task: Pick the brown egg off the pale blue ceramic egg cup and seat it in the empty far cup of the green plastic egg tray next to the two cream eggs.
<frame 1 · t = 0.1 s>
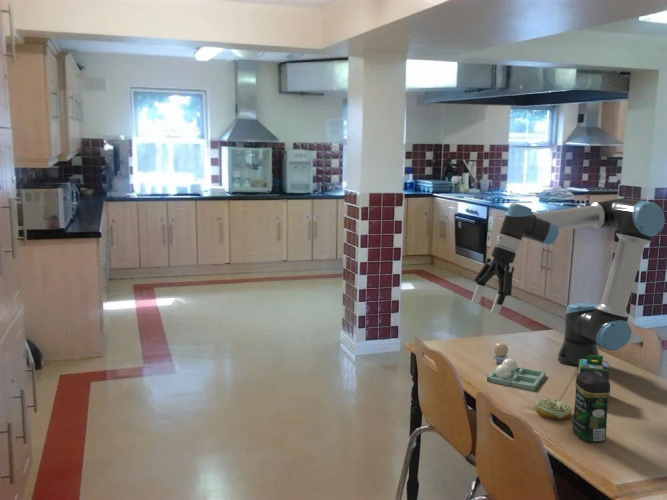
hand: (484, 308, 209), 28 cm above the table, tool tilted 20°, fingers open, 13 cm apart
chalk box: (591, 397, 206), on the table
carton: (516, 381, 219), on the table
coffee jar: (588, 436, 178), on the table
egg cup: (499, 364, 236), on the table
brown egg: (500, 356, 235), point 3 cm above the table, touching egg cup
decorated donut: (552, 415, 192), on the table
cream egg 1: (508, 373, 224), point 1 cm above the table, touching carton
cream egg 2: (502, 379, 217), point 1 cm above the table, touching carton
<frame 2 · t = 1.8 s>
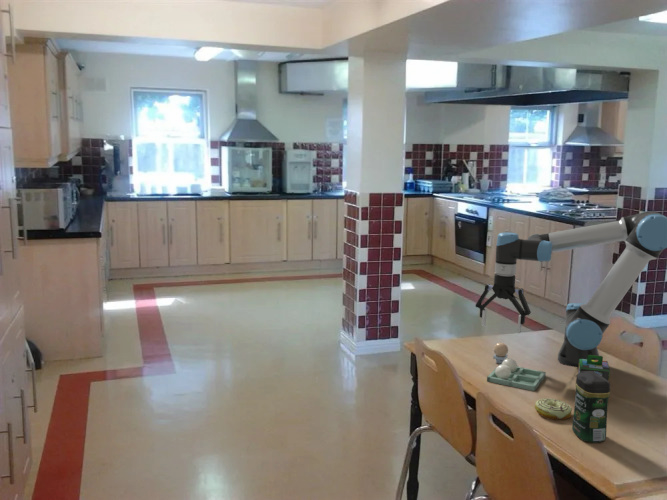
hand: (501, 329, 233), 14 cm above the table, tool pointing down, fingers open, 13 cm apart
nothing on the table moved.
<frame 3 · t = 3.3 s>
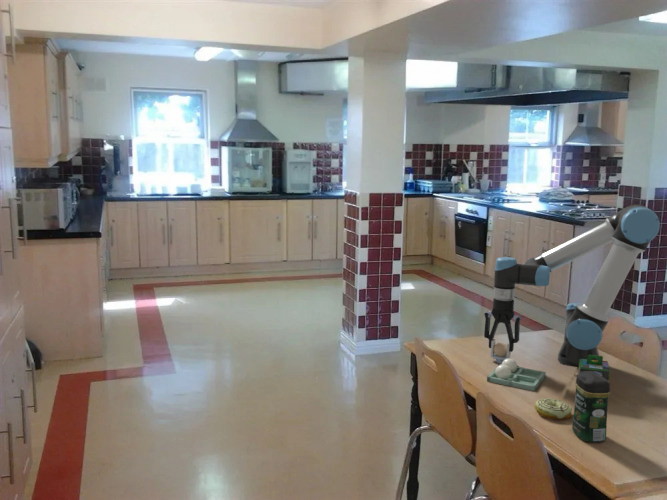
hand: (500, 357, 235), 3 cm above the table, tool pointing down, fingers closed on brown egg, 5 cm apart
brown egg: (500, 356, 235), point 3 cm above the table, touching egg cup, gripper
everything else where it was.
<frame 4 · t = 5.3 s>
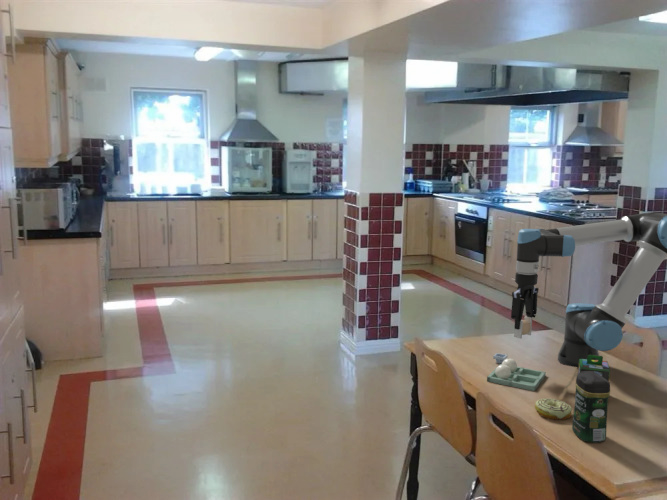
hand: (522, 335, 222), 15 cm above the table, tool pointing down, fingers closed on brown egg, 5 cm apart
brown egg: (522, 334, 222), point 15 cm above the table, touching gripper
everything else where it was.
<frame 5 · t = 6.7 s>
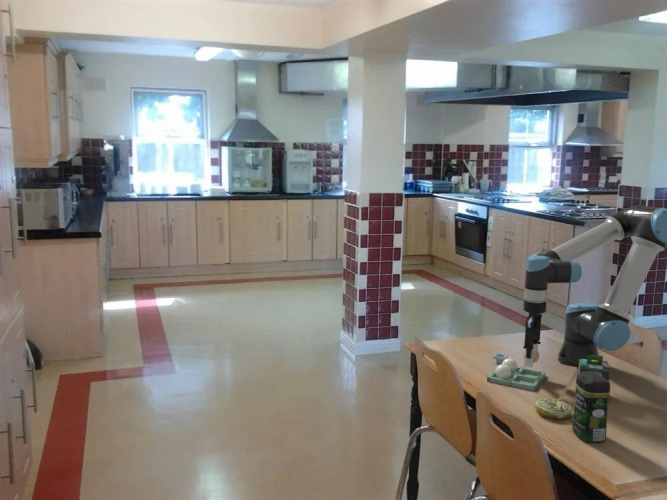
hand: (530, 363, 219), 6 cm above the table, tool pointing down, fingers closed on brown egg, 5 cm apart
brown egg: (530, 362, 219), point 6 cm above the table, touching gripper
everything else where it was.
when the fingers open (3 cm above the table, at t = 7.5 s): brown egg drops 2 cm, resting on carton.
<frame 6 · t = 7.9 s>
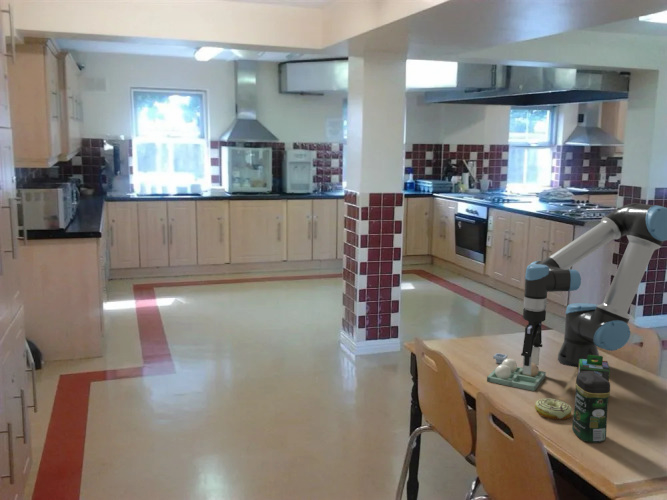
hand: (530, 369, 219), 4 cm above the table, tool pointing down, fingers open, 10 cm apart
brown egg: (530, 377, 220), point 1 cm above the table, touching carton
everything else where it was.
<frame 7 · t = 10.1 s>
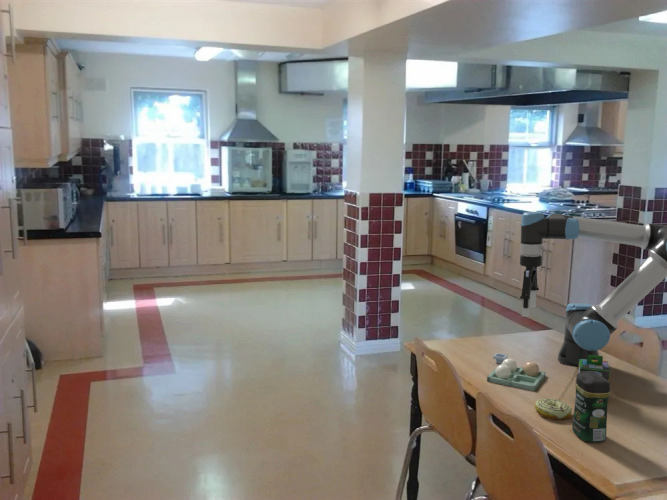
hand: (528, 312, 226), 22 cm above the table, tool pointing down, fingers open, 13 cm apart
brown egg: (530, 377, 220), point 1 cm above the table, tilted 18°, touching carton
everything else where it was.
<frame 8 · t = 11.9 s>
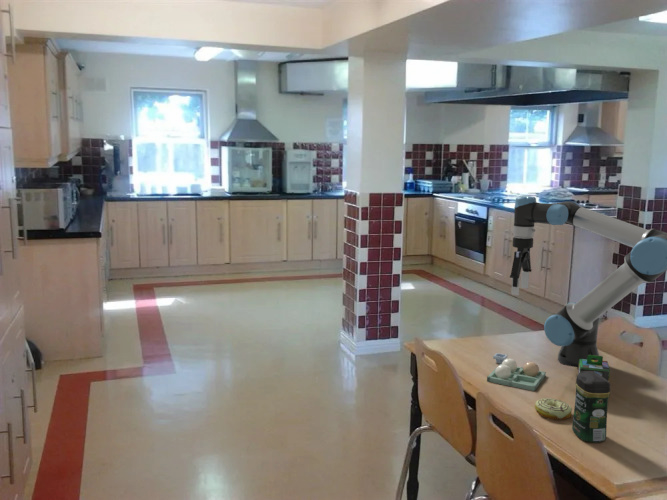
hand: (519, 291, 239), 27 cm above the table, tool pointing down, fingers open, 13 cm apart
nothing on the table moved.
at the end: brown egg 0.0 cm from the target spot on the carton, point 1.1 cm above the carton's base; the gripper is holding nothing; cream egg 1 moved 0.1 cm from its start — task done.
